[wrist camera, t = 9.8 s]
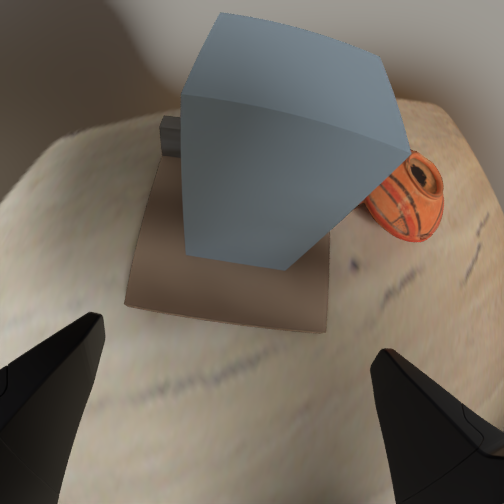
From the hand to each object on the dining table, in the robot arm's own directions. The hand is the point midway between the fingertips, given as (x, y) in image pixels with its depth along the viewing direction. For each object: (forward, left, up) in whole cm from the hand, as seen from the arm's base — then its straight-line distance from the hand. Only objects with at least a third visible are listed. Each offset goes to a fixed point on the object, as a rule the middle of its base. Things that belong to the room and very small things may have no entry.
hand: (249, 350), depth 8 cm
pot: (-1, -16, -9) cm, 19 cm away
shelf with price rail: (+5, -6, -9) cm, 12 cm away
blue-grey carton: (+5, -6, -8) cm, 11 cm away
